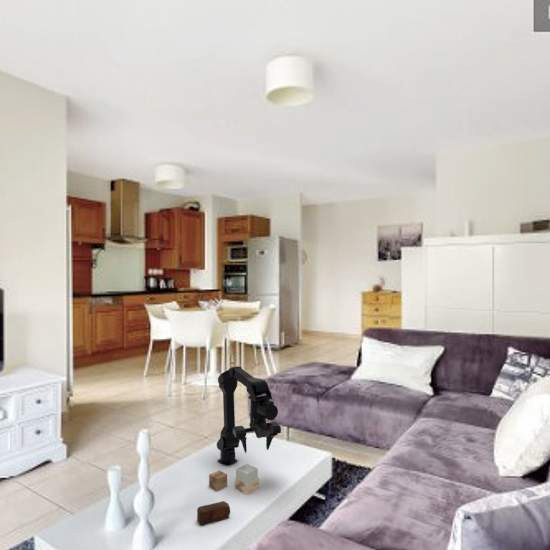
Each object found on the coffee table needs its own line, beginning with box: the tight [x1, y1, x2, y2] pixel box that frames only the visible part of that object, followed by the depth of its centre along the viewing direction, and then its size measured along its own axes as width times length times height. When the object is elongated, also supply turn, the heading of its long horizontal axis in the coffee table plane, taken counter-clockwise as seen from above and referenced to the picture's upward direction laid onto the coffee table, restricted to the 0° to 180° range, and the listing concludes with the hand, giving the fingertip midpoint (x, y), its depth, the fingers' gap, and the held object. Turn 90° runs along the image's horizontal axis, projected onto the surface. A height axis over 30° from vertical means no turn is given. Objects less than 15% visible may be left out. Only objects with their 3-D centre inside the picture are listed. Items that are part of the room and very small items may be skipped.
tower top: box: [235, 463, 259, 484], centre depth 162 cm, size 6×6×4 cm
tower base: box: [234, 478, 260, 495], centre depth 162 cm, size 6×6×4 cm
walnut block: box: [208, 469, 228, 492], centre depth 163 cm, size 5×5×5 cm
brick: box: [196, 500, 231, 526], centre depth 142 cm, size 11×4×5 cm, turn 118°
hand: (256, 451), depth 166 cm, fingers open, 9 cm apart
